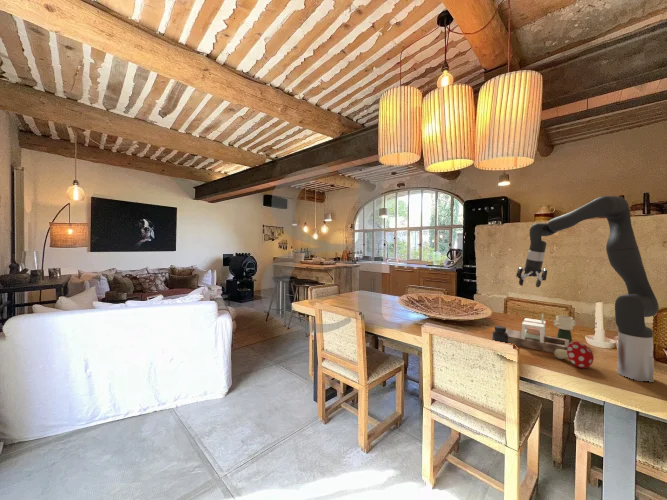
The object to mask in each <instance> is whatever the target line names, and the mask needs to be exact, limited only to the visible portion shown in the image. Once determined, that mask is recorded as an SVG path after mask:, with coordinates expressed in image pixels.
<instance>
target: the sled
mask: <svg viewBox="0 0 667 500" xmlns="http://www.w3.org/2000/svg"><path fill="white" fill-rule="evenodd" d="M544 316H545V315H544V313H541V320H542V324H544V321H545V320H544ZM525 337H526V338H532V339H537V340H540V336H538V335H533V334H527V330H525Z"/></svg>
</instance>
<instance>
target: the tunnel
mask: <svg viewBox="0 0 667 500" xmlns="http://www.w3.org/2000/svg"><path fill="white" fill-rule="evenodd" d="M546 324H547V322H546V320H544V324H542V319H541V320H540V319H535V318H534V319H533V318H527V317H525V318H524V320H523V321H522V323H521V332H522V339H525V330H527V328H528V327H534V328H540V342H541V343H544V336H547V335H546V334H547V333H546V330H547V329H546V326H547V325H546Z"/></svg>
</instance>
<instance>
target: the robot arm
mask: <svg viewBox="0 0 667 500" xmlns="http://www.w3.org/2000/svg"><path fill="white" fill-rule="evenodd" d="M594 218H603V219H604V218H606V220H607V223H608V227H609V234H608V235H609V236H608V239H607V241H606V247H605V251H606V255H607V258H608V262H609V264H610V266H611V267H612V268H613V270H614V271H615V273H617V275H619V277H620V278H621V279H622V281H624V284H625V286H626V290H627V294H622V295H619V296H617V298H616V300H615V302H614V303H615V304H614V317H615V319H614V320H615V324H616V326H617V328H618V330H617V336H618V337H617V339H618V340H617V341H618V342H617V373H618V374H619V375H620V376H621V377H624V376H625V377H624V378H626V377H628V378H627V379H629V378H630V380H633V379H634V380H633V381H638V382H643V381H649V382H648V383H652V382H654V381H655V358H654V355H653V354H654V353H653V352H654V349H653V348H654V347H653V346H654V345H653V344H654V340H653V339H654V330H653V329H652V328H650V327H647V326H646V323H645V322H646V320H645V318H649V317H654V316H656V314H658V311H659V302H658V300H657V297H656V295H655V293H654V291H653V288H652V287H651V284H650V282H649V279H648V276H647V273H646V269H645V267H644V263H643V259H642V255H641V252H640V248H639V246H638V243H637V239H636V236H635V233H634V229H633V224H632V221H631V220H632V219H631V212H630V206H629V203H628V200H626V199H625V198H624V197H622V196H617V195H615V196H614V195H602V196H599V197H597V198H595V199H593V200H591V201H590V202H588V203H586V204H584V205H582V206H580V207H578V208H576V209H574V210H572V211H570V212H567V213H565V214H562V215H558V216H556V217H554V218H551V219H549V221H548V222H545V223H541V222H539V223H538V222H537V223H534V224H532V225H531V227H530V228H529V241H530V245H529V248H528V253H527V256H526V259H525V260H526V261H525V264H524V267H521V266H519V267H518V268H517V272H516V275H515V276H516V278H518V279H519V280H518V285H519V286H521V287H522V286H523V285H524V280H525V279H526V278H528V277H534V278H536V282H535V287H536V288H540V287H541V284H542V281H546V280H547V277H548V270H547V269H545V268H544V269H543V263H544V259H545V253H546V249H547V242H546V241H544V240H542V237H550V236H552V235H554V234H555V233H558V232H562V231H564V230H567V229H569V228H572V227H575V225H578V224H579V223H581V222H583V221H586V220H590V219H594ZM540 273H541V275H540ZM654 383H655V382H654Z"/></svg>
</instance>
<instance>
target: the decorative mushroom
mask: <svg viewBox="0 0 667 500" xmlns="http://www.w3.org/2000/svg"><path fill="white" fill-rule="evenodd" d="M553 356H555V357H556V358H557V359H558V360H566V359H569V361H570V362H571V364H573V366H575V367H577V368H579V369H588V368H589V367H591V365H592V364H593V363H594V353H593V351H592V350H591V348H590V347H589V346H587V345H586V344H584V343H583V342H580V341H570V342H569V345H568V347H567V350H562V349H557V350H555V351H554V353H553Z"/></svg>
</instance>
